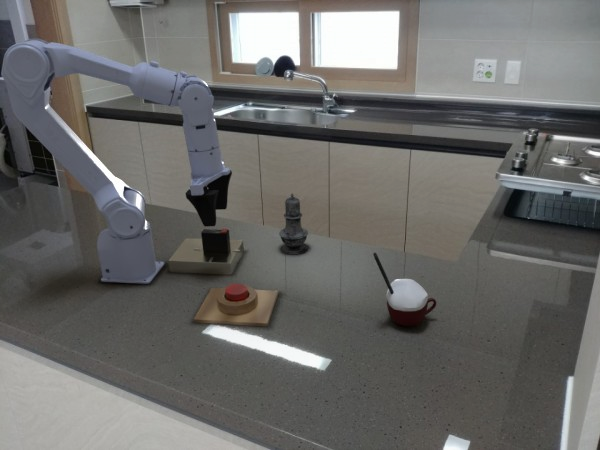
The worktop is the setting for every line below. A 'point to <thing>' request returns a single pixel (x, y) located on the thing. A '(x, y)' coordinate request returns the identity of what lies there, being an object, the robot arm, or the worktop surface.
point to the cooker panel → (205, 258)
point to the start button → (236, 292)
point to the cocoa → (406, 300)
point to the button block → (237, 308)
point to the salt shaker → (293, 228)
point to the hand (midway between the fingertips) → (215, 217)
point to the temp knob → (215, 240)
